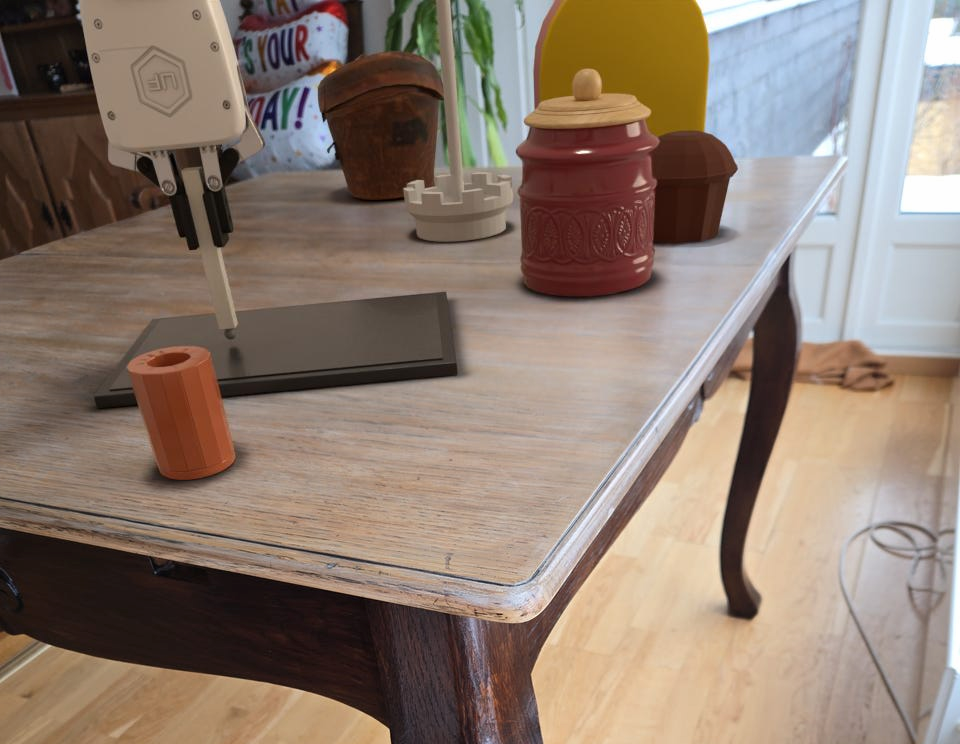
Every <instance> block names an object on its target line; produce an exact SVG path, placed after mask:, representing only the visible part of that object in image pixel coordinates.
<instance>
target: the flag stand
mask: <svg viewBox="0 0 960 744" xmlns="http://www.w3.org/2000/svg"><path fill="white" fill-rule="evenodd" d="M435 5H436V19H437V30H438V41H439V42H438V43H439V53H440V54H439V55H440V67H441V79H442V83H443V92H444V101H443V103H444V115H445V116H444V117H445V129H446V138H447V151H448V163H449V173H448V174H440V175H434V186H433V187H430V188H425V186H424V180H416V181H413V182H410V183H408V184H407V188H403V190H404V197H403V198H404V206H405V210H406V212H408V214H410V215H411V216H412V217H413V218H414V219H415V231H416V236H417V237H418V239H421V240H424V241H429V242H430V241H431V242H465V241H473V240H480V239H484V238H489V237H492V236H495V235H498V234H500V233H502V232H504V231H505V230H506V229H507V224H506V210H507V209H508V207H510V205H511V204H512V203H513V201H514V193H513V191H514V190H513V178H512V176H511V175H508V174H506V173H505V174H504V173H503V174H499V175H496V176H497V182H493V172H486V171H485V172H484V171H482V172H477V171H475V172H474V171H473V172H472V173H471V174H470V177H471V178H470V179H471V182H465V181H464V170H463V156H462V143H461V141H462V140H461V129H460V116H459V104H458V103H459V102H458V89H457V88H458V87H457V75H456V63H455V51H454V50H455V48H454V37H453V25H452V24H453V23H452V22H453V21H452V11H451V9H452V7H451V0H435Z"/></svg>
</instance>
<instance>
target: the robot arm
mask: <svg viewBox="0 0 960 744" xmlns="http://www.w3.org/2000/svg"><path fill="white" fill-rule="evenodd" d="M79 10H80V17H81V24H82V31H83V34H84V35H83V36H84V41H85V46H86V53H87V58H88V63H89V69H90V73H91V78H92V82H93V87H94V92H95V96H96V101H97V106H98V110H99V114H100V118H101V122H102V126H103V129H104V132H105V135H106V137H107V139H108V140H107V141H108V142H107V160H108V161H109V163H110V164H111V165H112V166H114V167H118V168H123V169H124V170H125V169H126V170H129V171H133V172H138V173H140V174H142V175H143V176H144V177H145V178H147V179H148V180H150V182H152V183H153V184H154V185H156V186H157V187H158V188H159V189H161V192H162V193H163V194H164V195H166V196H168V199H169V203H170V208H171V211H172V215H173V219H174V222H175V227H176V231H177V234H178V236H179V238H180V239H181V238H185V241H186V244H187V248H188V250H189V251H198V249H200V248H199V247H200V246H199V242H198V238H197V233H196V229H195V225H194V221H193V217H192V212H191V208H190V204H189V200H188V196H187V194H186V190H185V186H184V182H183V178H182V173H181V171H182V169H181V167H180V163H179V160H178V157H177V153H176V150H180V149H192V148H199V152H200V157H201V163H202V169H203V173H204V177H205V183H204V186H205V190H206V192H205V193H203V195H202V196H203V201H204V206H205V210H206V214H207V218H208V223H209V227H210V231H211V235H212V239H213V244H214V246H217V248H221V249H222V248H225V246H226V245H227V243H228V242H229V240H230V235H229V234H232V233H234V223H233V219H232V213H231V208H230V205H229V200H228V199H229V198H228V196H227V191H226V187H225V185H226V184H227V183H228V181H229V179H230V177H231V176H232V174H233V173H234V171H235V170H236V168H237V166H238V164H240V163H242V162H244V161H246V160H248V159H250V158H251V157H254V156H255V155H257V154H259V153H261V152H262V151H263V150H264V148H265V146H266V142H265V139H264V137H263V134H262V133H261V131H260V129H259V128H258V126H257V125H258V124H257V123H256V122H255V120H254V118H253V116H252V114H251V112H250V108H249V107H250V106H249V103H248V97H247V93H246V88H245V84H244V81H243V76H242V72H241V68H240V65H239V61H238V58H237V54H236V50H235V46H234V42H233V39H232V35H231V32H230V28H229V25H228V22H227V18H226V15H225V12H224V9H223V6H222V4H221V0H79ZM239 138H240V139H239ZM238 139H239V141H237V142H235V143H234V144H231V145H230V146H228V147H227V148H226V149H225V150H224V147H223V145H225V144H229V143H231V142H234V141H236V140H238ZM147 152H148V153H147Z"/></svg>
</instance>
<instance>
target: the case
mask: <svg viewBox="0 0 960 744" xmlns="http://www.w3.org/2000/svg"><path fill="white" fill-rule="evenodd" d="M440 101H442V102H444V92H443V80H442V76H441V75H440V73H439V71H438V69H437V67H436V66H435V64H433V63H432V62H431V61H429V59H426V58H425V57H423V56H421V55H419V54H416V53H414V52H413V53H412V52H409V51H401V50H389V51H383V52H382V51H381V52H376V53H372V54H369V55H367V54H366V53H362V54H360V55H359V56H358V57H356V58H355V59H354V61H351V62H349V63H345V64H344V65H342V66H340V67H337V68H335V69H334V70H333V71H331V72H329V73H328V74H326V75H325V76H324V77H323V78H322V79H321V80H320V82H319V84H318V86H317V105H318V109H319V112H320V114H321V119H322V123H323V124H324V123H325V122H326V124H327V127H328V129H329V133H330V136H331V138H332V141H333V142H332V143H331V144H330V145H329V146H328V147H327V149H326V153H328V154H330V151H331V149H332V147H334V159H335V160H336V161H338V162H339V165H340V167H341V170H342V172H343V176H344V179H345V182H346V186H347V190H348V192H349V194H350V195H351V197H353V198H355V199H359V200H368V201H373V200H375V201H376V200H377V201H380V200H381V201H382V200H394V199H401V198H404V190H403V188H407V184H408V183H410V182H413V181H416V180H424V186H425V188H430V187H434V186H435V182H434V176H435V164H436V151H437V139H438V128H439V114H440V113H439V112H440Z"/></svg>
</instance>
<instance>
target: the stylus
mask: <svg viewBox="0 0 960 744" xmlns="http://www.w3.org/2000/svg"><path fill="white" fill-rule="evenodd" d="M181 174H182V178H183V182H184V186H185V190H186V194H187V196H188V200H189V204H190V208H191V212H192V217H193V221H194V225H195V229H196V233H197V238H198V242H199V246H200V247H199V248H198V249H199V252H200V256H201V261H202V264H203V265H202V266H203V269H204V272H205V277H206V281H207V285H208V289H209V294H210V298H211V302H212V306H213V311H214V313H215V315H216V319H217V323H218V327H219V330H224V335H225V337H226V338H227V339H234V338H235V336H236V331H235V328H236V326H237V324H238V322H237V318H236V313H235V311H236V309H235V306H234V301H233V300H234V299H233V296H232V292H231V288H230V283H229V280H228V275H227V270H226V265H225V261H224V257H223V252H222V247H221V248H217V246H214V244H213V239H212V235H211V231H210V227H209V223H208V218H207V214H206V210H205V206H204V201H203V196H202V195H203V193H205V192H206V190H205V186H204V183H205V181H206V179H205V174H204V169H203V166H194V167H193V166H192V167H184V168H182V169H181Z"/></svg>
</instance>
